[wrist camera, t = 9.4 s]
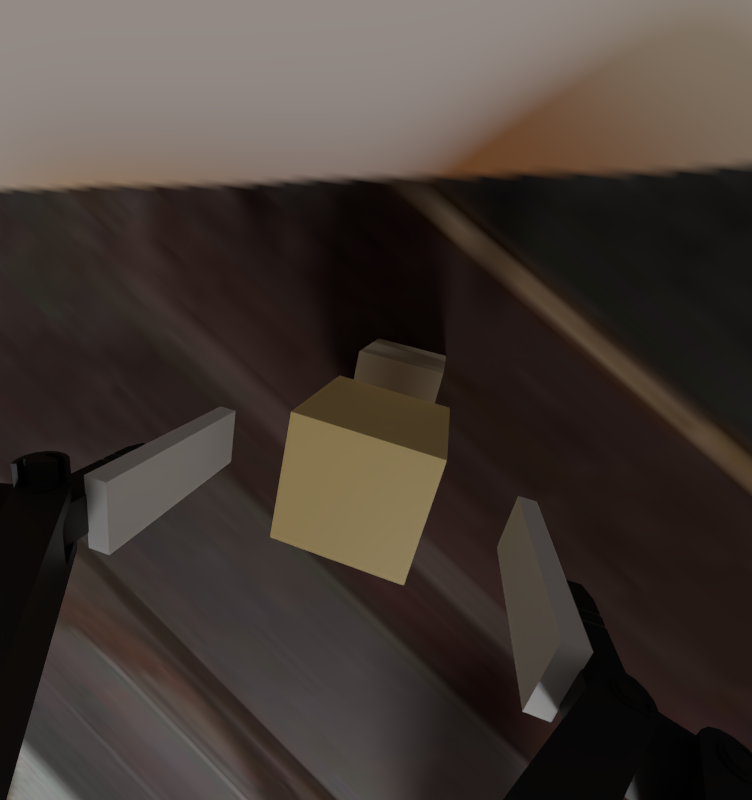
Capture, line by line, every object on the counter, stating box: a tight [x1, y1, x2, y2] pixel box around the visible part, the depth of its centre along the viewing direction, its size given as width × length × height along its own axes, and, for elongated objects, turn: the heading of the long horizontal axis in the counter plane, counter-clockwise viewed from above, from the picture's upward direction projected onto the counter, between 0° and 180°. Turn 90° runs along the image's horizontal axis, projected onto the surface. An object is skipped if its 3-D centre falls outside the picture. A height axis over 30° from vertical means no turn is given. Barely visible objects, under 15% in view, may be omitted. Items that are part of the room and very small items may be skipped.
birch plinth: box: [354, 339, 446, 403], centre depth 22 cm, size 4×9×5 cm, turn 168°
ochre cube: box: [270, 376, 450, 586], centre depth 17 cm, size 6×6×6 cm
